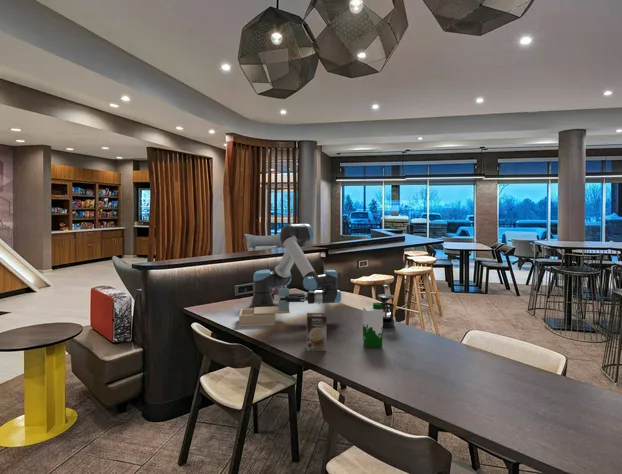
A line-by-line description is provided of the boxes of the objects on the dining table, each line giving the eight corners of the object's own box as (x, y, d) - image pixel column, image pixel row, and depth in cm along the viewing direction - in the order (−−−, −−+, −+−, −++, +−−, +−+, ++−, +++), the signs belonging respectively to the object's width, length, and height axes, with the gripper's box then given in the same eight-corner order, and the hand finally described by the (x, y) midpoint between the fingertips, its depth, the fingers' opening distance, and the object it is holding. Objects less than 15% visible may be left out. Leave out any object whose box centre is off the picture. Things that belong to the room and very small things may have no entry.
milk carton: (384, 348, 169) (385, 306, 167) (365, 349, 168) (365, 306, 167) (379, 341, 177) (379, 301, 176) (361, 342, 177) (361, 301, 175)
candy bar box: (271, 295, 278) (270, 274, 277) (272, 293, 283) (272, 272, 282) (285, 295, 277) (285, 274, 276) (286, 294, 282) (286, 273, 281)
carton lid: (288, 306, 219) (288, 286, 219) (289, 313, 206) (289, 291, 205) (254, 308, 217) (254, 287, 216) (253, 314, 203) (253, 292, 202)
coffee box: (306, 351, 166) (306, 316, 165) (306, 346, 172) (306, 312, 171) (326, 351, 166) (326, 316, 165) (325, 345, 172) (325, 312, 171)
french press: (399, 326, 201) (399, 285, 200) (387, 329, 196) (388, 287, 194) (382, 321, 211) (383, 282, 209) (371, 324, 205) (371, 284, 203)
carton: (274, 317, 219) (274, 307, 218) (275, 324, 205) (275, 314, 205) (241, 318, 216) (240, 308, 216) (239, 326, 203) (239, 315, 202)
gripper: (316, 307, 206) (274, 308, 203) (312, 300, 222) (274, 301, 219) (316, 293, 205) (274, 294, 203) (312, 287, 221) (274, 288, 219)
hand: (274, 298), depth 211 cm, fingers closed on carton lid, 3 cm apart
